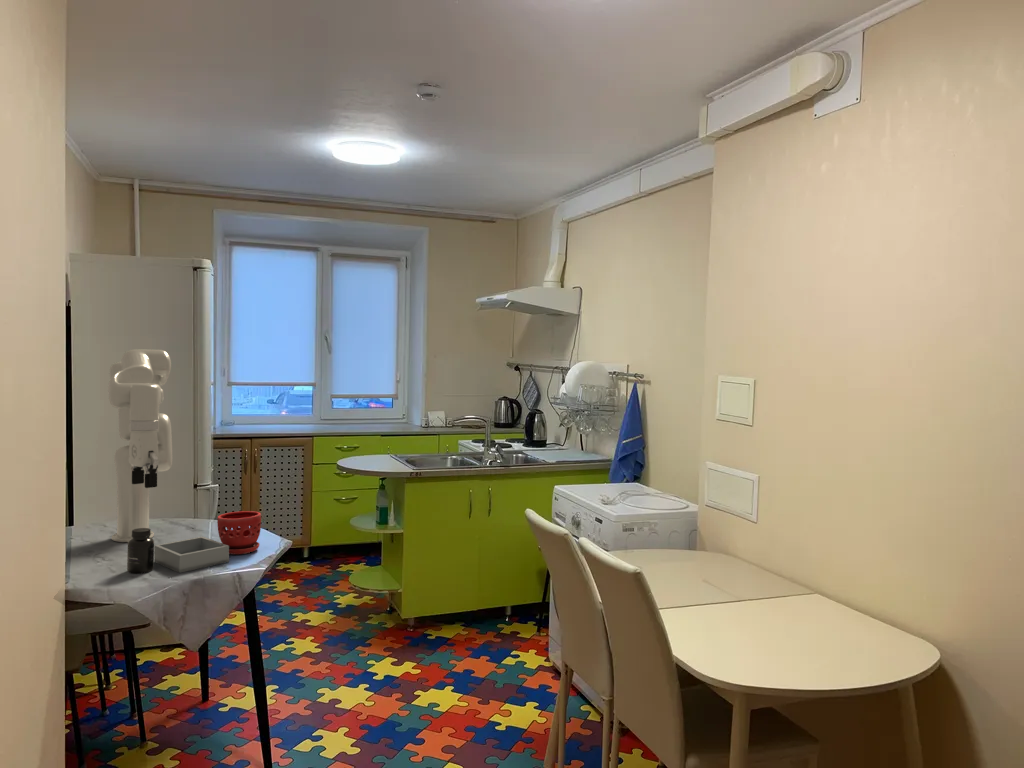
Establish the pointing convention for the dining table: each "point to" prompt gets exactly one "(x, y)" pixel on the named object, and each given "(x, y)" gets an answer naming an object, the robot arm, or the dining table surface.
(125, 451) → the robot arm
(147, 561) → the supplement bottle
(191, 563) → the tray
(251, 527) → the plant pot
